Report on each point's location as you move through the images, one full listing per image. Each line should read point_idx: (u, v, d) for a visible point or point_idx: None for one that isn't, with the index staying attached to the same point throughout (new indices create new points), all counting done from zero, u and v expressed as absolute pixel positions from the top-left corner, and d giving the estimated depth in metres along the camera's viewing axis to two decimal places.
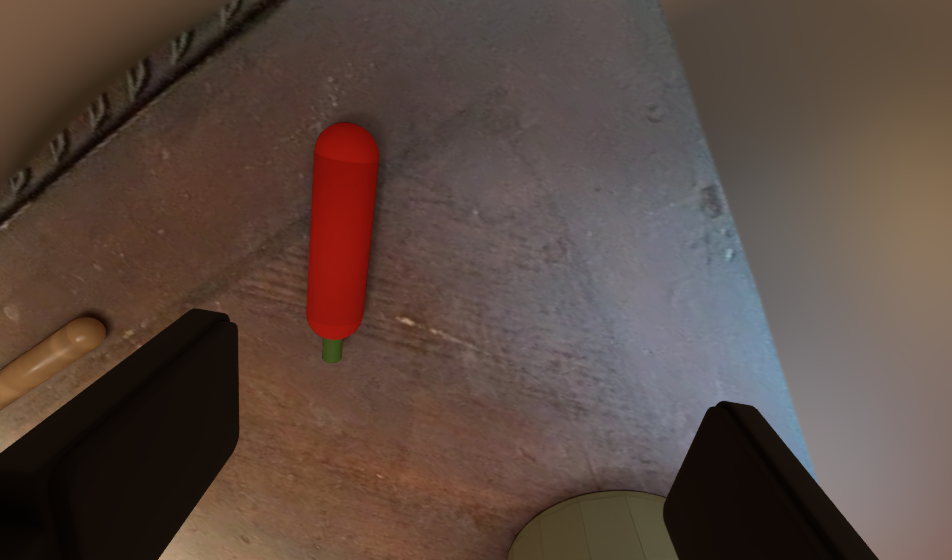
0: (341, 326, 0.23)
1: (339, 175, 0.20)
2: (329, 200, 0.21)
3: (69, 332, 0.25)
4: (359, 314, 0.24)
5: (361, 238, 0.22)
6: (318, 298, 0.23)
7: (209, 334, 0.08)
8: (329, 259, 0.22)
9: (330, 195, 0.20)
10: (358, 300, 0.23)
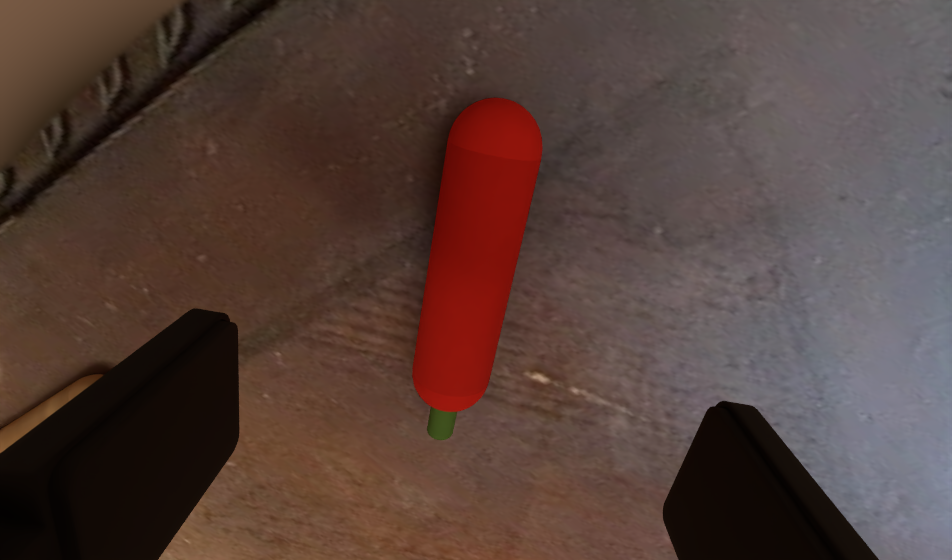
0: (468, 396, 0.16)
1: (494, 180, 0.13)
2: (473, 218, 0.13)
3: None
4: (488, 375, 0.17)
5: (509, 272, 0.15)
6: (439, 359, 0.15)
7: (209, 334, 0.08)
8: (463, 304, 0.14)
9: (476, 210, 0.13)
10: (491, 358, 0.16)
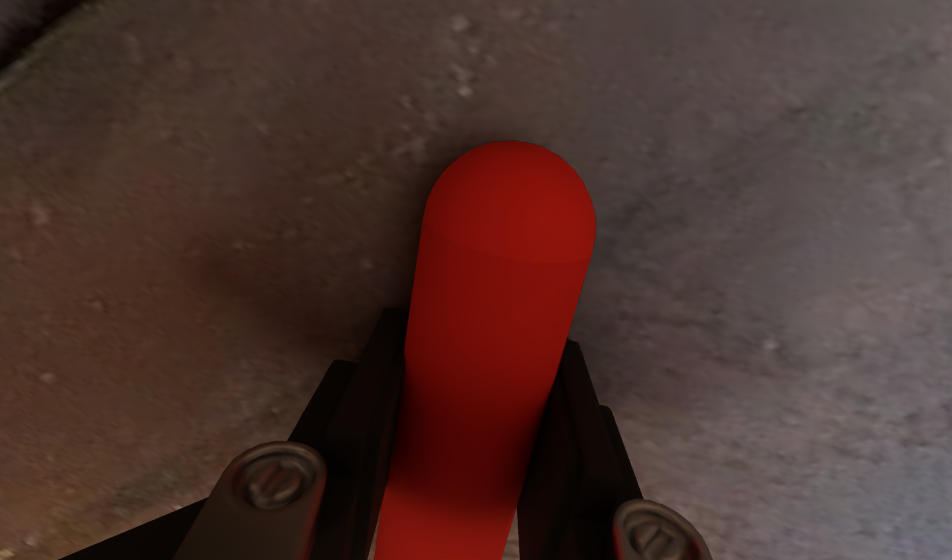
0: None
1: (509, 301, 0.07)
2: (470, 364, 0.07)
3: None
4: None
5: (532, 438, 0.08)
6: None
7: None
8: (452, 498, 0.08)
9: (474, 351, 0.07)
10: (500, 555, 0.10)
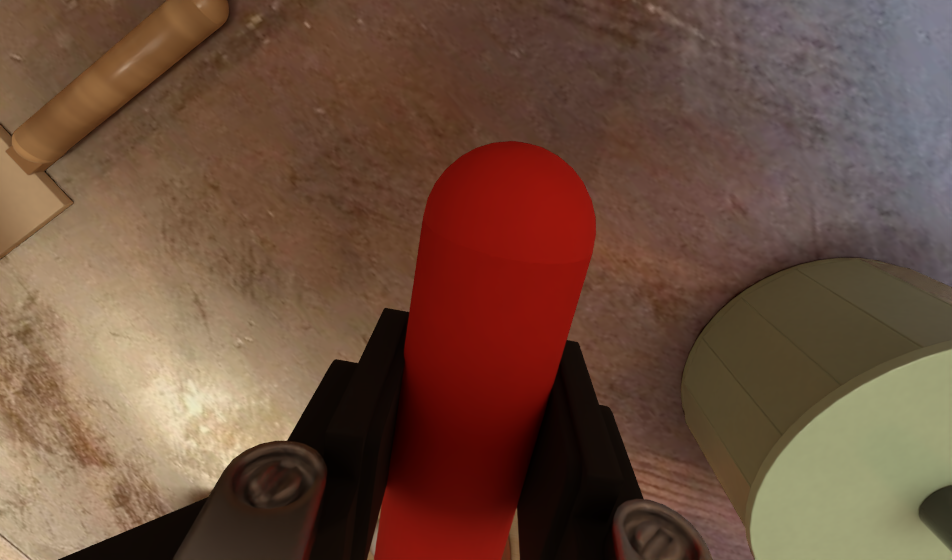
0: None
1: (509, 301, 0.07)
2: (469, 365, 0.07)
3: None
4: None
5: (531, 439, 0.08)
6: None
7: None
8: (452, 499, 0.08)
9: (474, 352, 0.07)
10: (500, 555, 0.10)
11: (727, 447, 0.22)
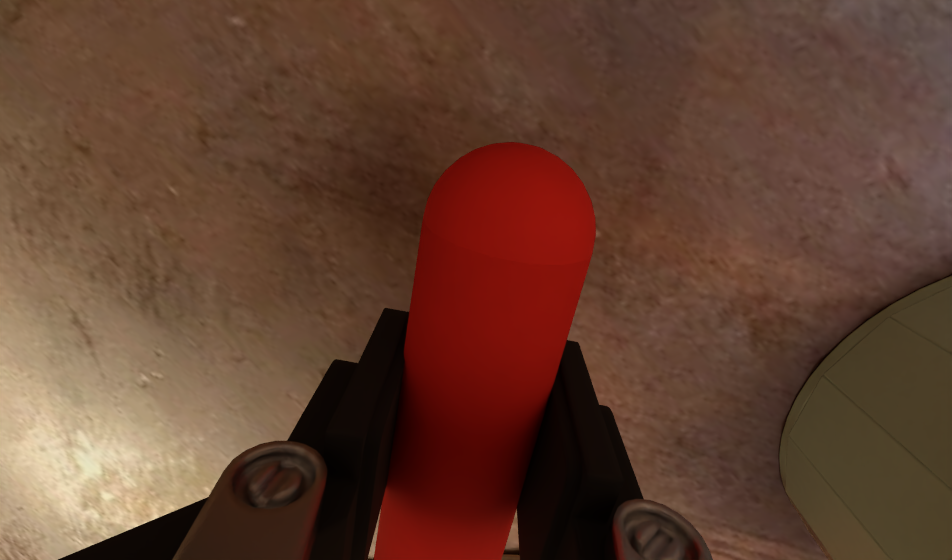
0: None
1: (509, 302, 0.07)
2: (469, 366, 0.07)
3: None
4: None
5: (531, 440, 0.08)
6: None
7: None
8: (452, 500, 0.08)
9: (474, 353, 0.07)
10: (499, 556, 0.10)
11: None
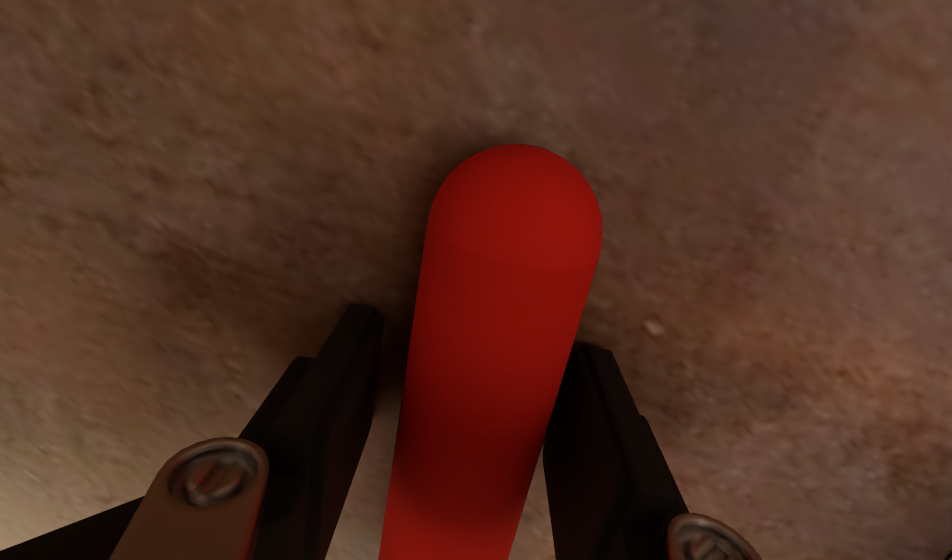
0: None
1: (523, 308, 0.07)
2: (483, 373, 0.07)
3: None
4: None
5: (541, 440, 0.08)
6: None
7: (371, 326, 0.09)
8: (464, 506, 0.08)
9: (488, 359, 0.07)
10: None
11: None
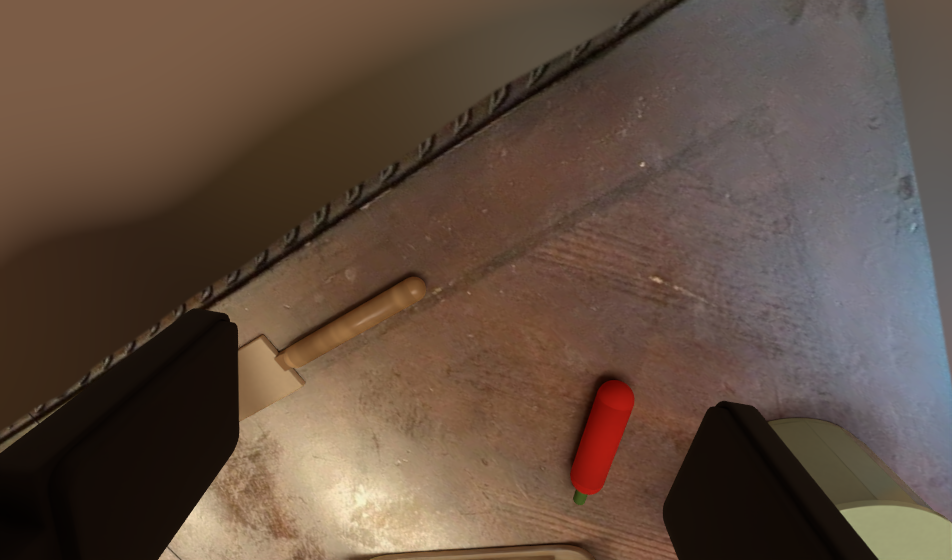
0: None
1: None
2: None
3: (410, 287, 0.33)
4: None
5: None
6: None
7: (209, 334, 0.08)
8: None
9: None
10: None
11: None
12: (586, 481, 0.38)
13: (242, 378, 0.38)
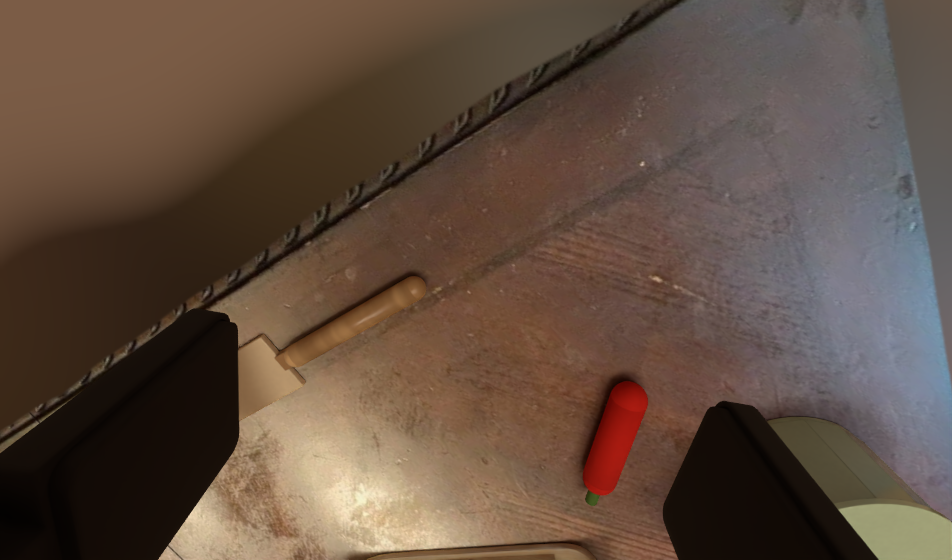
0: None
1: None
2: None
3: (410, 286, 0.33)
4: (585, 468, 0.40)
5: (599, 425, 0.39)
6: None
7: (209, 334, 0.08)
8: None
9: None
10: None
11: None
12: (611, 484, 0.38)
13: (242, 377, 0.38)
